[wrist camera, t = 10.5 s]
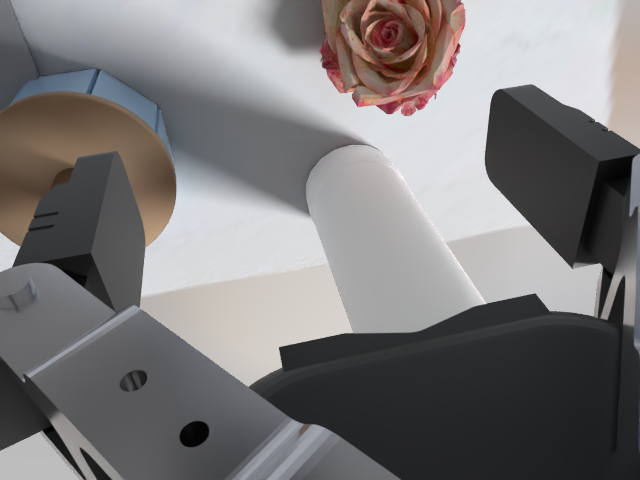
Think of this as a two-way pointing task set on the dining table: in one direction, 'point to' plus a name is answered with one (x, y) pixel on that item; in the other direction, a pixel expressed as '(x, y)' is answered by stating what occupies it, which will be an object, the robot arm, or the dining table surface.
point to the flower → (391, 49)
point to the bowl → (100, 95)
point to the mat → (13, 56)
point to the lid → (76, 141)
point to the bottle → (383, 245)
